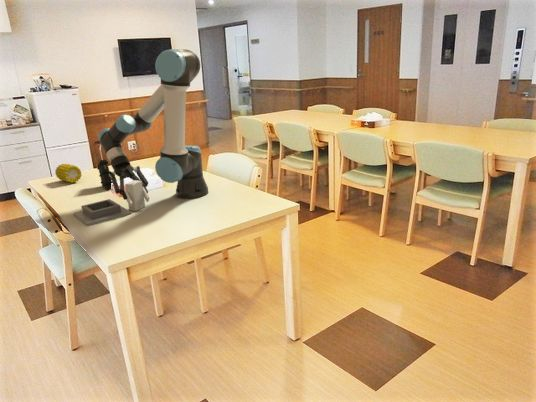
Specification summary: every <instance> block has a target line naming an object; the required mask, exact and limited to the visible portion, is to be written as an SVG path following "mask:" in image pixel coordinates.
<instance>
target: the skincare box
mask: <svg viewBox="0 0 536 402" xmlns="http://www.w3.org/2000/svg"><path fill="white" fill-rule="evenodd" d="M124 188H125V190H127V193H128V195H129V197H130V199H131V201H132V206H129V204H128V203H127V204H128V205H127V206H128V209H129V211H131V212H132V211H133V212H137V211H139V210H141V209H143V208H145V207H146V203H145V201H146V200H145V198H144V194H143V187H142V181H138V180H134V181H133V180H132V181H130V182H126V183H124Z"/></svg>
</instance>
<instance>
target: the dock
mask: <svg viewBox="0 0 536 402" xmlns="http://www.w3.org/2000/svg"><path fill="white" fill-rule="evenodd" d="M80 207H81V210H78V211H75V212H73V213H72V215H73V217H75V218H77V219H78V220H79V221H80V222H82V223H83V224H84V225H86V226H87V227H89V226H93V225H97V224H101V223H104V222H108V221H111V220H114V219H119V218H122V217H125V216H130V215H132V210H128V209H127V208H125V207H123V206H122V205H120V204H119V203H117V202H115V201H113V199H112V200H111V199H104V200H101V201H96V202H93V203H87V204H84V205H81V206H80Z"/></svg>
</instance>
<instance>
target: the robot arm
mask: <svg viewBox="0 0 536 402" xmlns="http://www.w3.org/2000/svg"><path fill="white" fill-rule="evenodd" d="M154 67H155V72H156V74H157V75H158V77H159V78H160V85H159V86H158V88H157V89H156V90H155V91H154V92H153V93H152V95H151V96H150V97H149V98H148V99H147V101H146V102H144V104H143V105H142V106H141V107H140V109H139V110H138V111H137V112H136V114H135V115H134V116H131V115H129V114H122V115H120V116H119V117H118V118H117V119H116V121H115V122H114V123H113V124H112V126H111V127H107V128H106V127H105V128H103V129H102V130H100V131H99V132H98V134H97V138H98V140H99V143H100V145H101V147H102V149H103V151H104V154H106V157H107V159H108V162H109V163H110V165H111V168H112V169H113V171H110V173H109V177H110V178H111V181H112V183H113V185H112V186H113V190H114V192H115V194H116V195H118V194H120V196H122V198H123V200H126V202H127V204H129V206H132V201H131V199H130V197H129V195H128V193H127V190H126V189H125V180H124V179H126V178H129V179H130V180H132V181H134V180H138V181H142V187H143V194H144V200H145V201H146V203H149V201H150V197H149V195H148V193H149V191H148V188H147V187H148V185H149V181H148V179H147V178H146V177H145V175H144V173H143V172H142V171H141V168H140V166H139V165H137V166H135V167H134V166H133V165H132V164H131V163H130V162H131V161H130V160H129V157H127V154H126V152H125V150H124V149H123V145H122V143H123V142H124V141H125V140H126V138H127V137H129V136H132V135H135V134H137V133H142V132H146V131H147V130H150V129H151V127H152V124H153V122H154V120H155V119H156V118H157V117H158V116H159V115H160V113H161V112H162V111H163V110H164V114H163V116H164V118H163V119H164V120H163V122H164V123H163V136H164V137H163V147H161V148H160V150H159V153H160V154H159V158H158V160H156V162H155V167H154V169H155V172H156V175H157V176H158V177H159V178H160V179H161V180H162V181H163V182H165V183H167V184H169V183H170V184H173V183H176V182H177V184H176V189H175V196H176V197H178V198H180V199H195V198H200V197H201V198H202V197H204V196H207V194H209V186H208V184H207V183H206V180H205V177H204V172H203V162H202V161H203V159H202V152H201V148H200V146H199V145H186V140H185V139H186V110H187V109H186V106H187V90H188V89H189V88H190V87H191V82H193V80H194V79H195V78H196V77H197V76H198V75H199V73H200V69H201V61H200V58H199V56H198V54H196V53H195V52H194V51H192V50H189V49H175V48H174V49H166V50H163V51H162V52H160V53H159V55H158V56H157V57H156V60H155V65H154ZM116 176H118V177H119V183H118V181H117V177H116ZM118 184H119V185H118ZM129 206H128V207H129Z"/></svg>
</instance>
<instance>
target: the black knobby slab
mask: <svg viewBox="0 0 536 402" xmlns="http://www.w3.org/2000/svg"><path fill="white" fill-rule="evenodd" d="M108 163H109V160H107V159H106V158H105V159H100V160H99V162H98V164H97V168H96V169H97V170H98V173H99V175H98V176H99V177H100V181H101V182H100V184H101V186H102V187H103V188H104V189H105V190H106V191H111V190H110V189H111V183H112V180H111V178H110V177H109V173H110V172H111V170H110V168H109V165H108Z"/></svg>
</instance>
